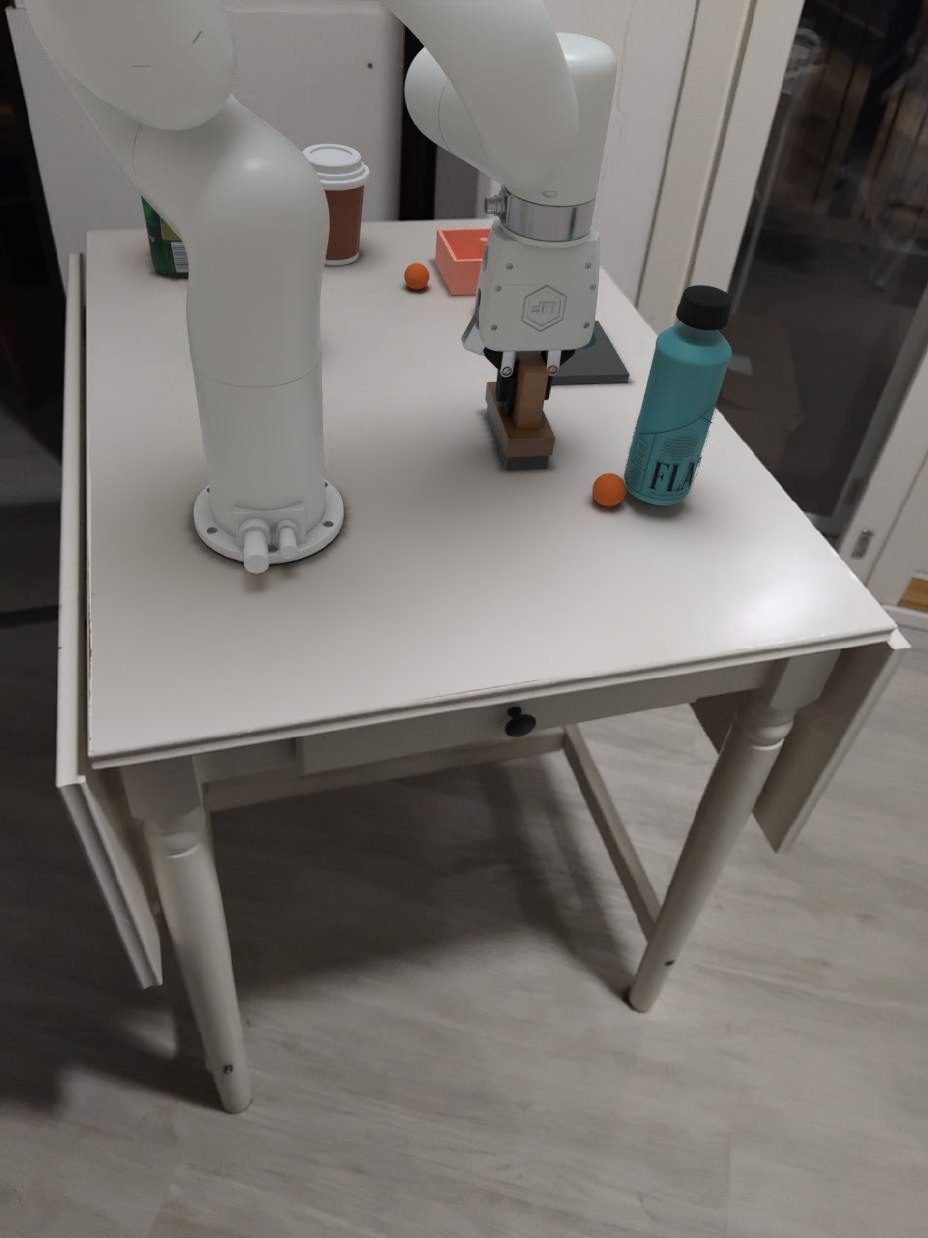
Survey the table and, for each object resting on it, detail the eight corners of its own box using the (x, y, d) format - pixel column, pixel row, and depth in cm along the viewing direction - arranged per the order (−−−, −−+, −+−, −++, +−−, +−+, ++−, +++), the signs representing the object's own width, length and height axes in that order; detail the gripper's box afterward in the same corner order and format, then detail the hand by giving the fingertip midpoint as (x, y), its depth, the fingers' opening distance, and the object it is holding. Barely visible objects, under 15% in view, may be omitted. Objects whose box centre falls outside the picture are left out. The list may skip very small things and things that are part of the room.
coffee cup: (307, 273, 115) (303, 170, 106) (288, 241, 121) (283, 142, 112) (378, 266, 118) (380, 165, 109) (356, 236, 123) (356, 138, 115)
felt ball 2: (600, 517, 87) (632, 506, 86) (592, 497, 84) (624, 486, 83) (594, 492, 88) (625, 481, 88) (585, 473, 86) (617, 461, 85)
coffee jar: (151, 244, 117) (125, 78, 104) (217, 244, 119) (200, 79, 106) (150, 280, 110) (123, 107, 97) (220, 279, 112) (202, 108, 99)
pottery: (435, 261, 120) (439, 182, 113) (506, 259, 122) (515, 180, 115) (470, 331, 108) (478, 246, 101) (549, 327, 110) (561, 244, 103)
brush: (550, 469, 90) (565, 380, 83) (504, 471, 89) (516, 382, 82) (526, 411, 97) (538, 324, 90) (483, 412, 96) (492, 325, 89)
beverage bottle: (634, 523, 85) (689, 315, 71) (607, 479, 89) (654, 276, 75) (699, 515, 87) (765, 311, 73) (669, 473, 91) (726, 272, 77)
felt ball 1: (435, 271, 112) (417, 253, 112) (418, 288, 112) (399, 270, 112) (433, 281, 115) (415, 263, 115) (415, 298, 115) (398, 280, 115)
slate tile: (627, 382, 103) (629, 374, 102) (520, 385, 100) (522, 377, 100) (596, 328, 111) (598, 320, 110) (497, 329, 109) (498, 321, 108)
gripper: (459, 231, 73) (444, 432, 86) (653, 230, 76) (611, 424, 89) (443, 192, 78) (431, 387, 91) (625, 193, 81) (589, 382, 94)
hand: (520, 404), depth 90 cm, fingers closed on brush, 2 cm apart
